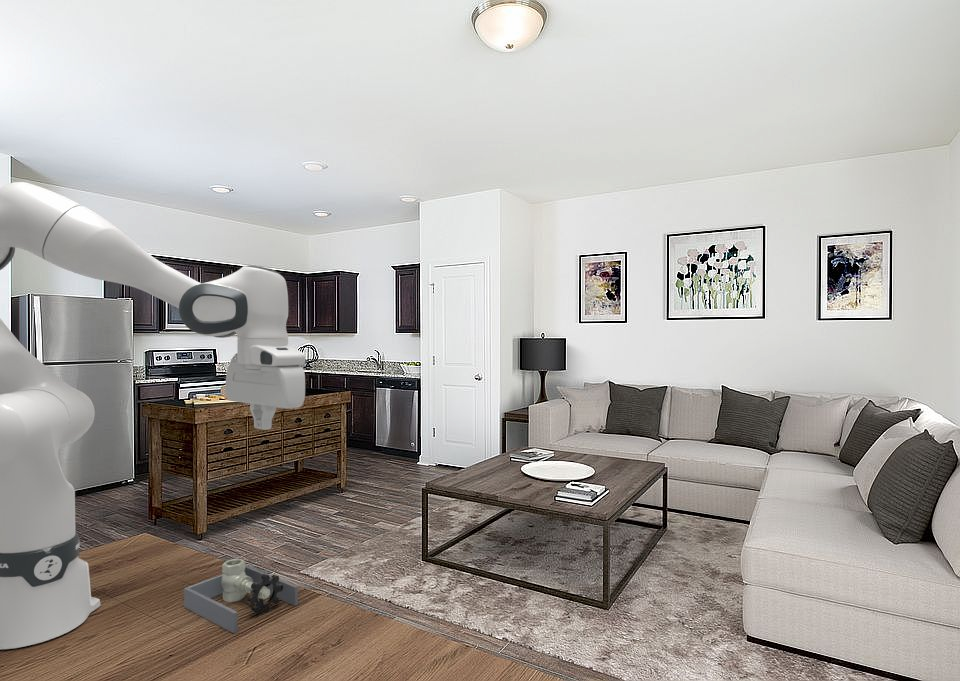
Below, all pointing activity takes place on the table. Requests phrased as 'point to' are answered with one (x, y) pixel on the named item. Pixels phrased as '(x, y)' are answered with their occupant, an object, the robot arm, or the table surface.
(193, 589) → the valve dock
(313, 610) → the table surface
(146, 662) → the table surface
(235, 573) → the valve
